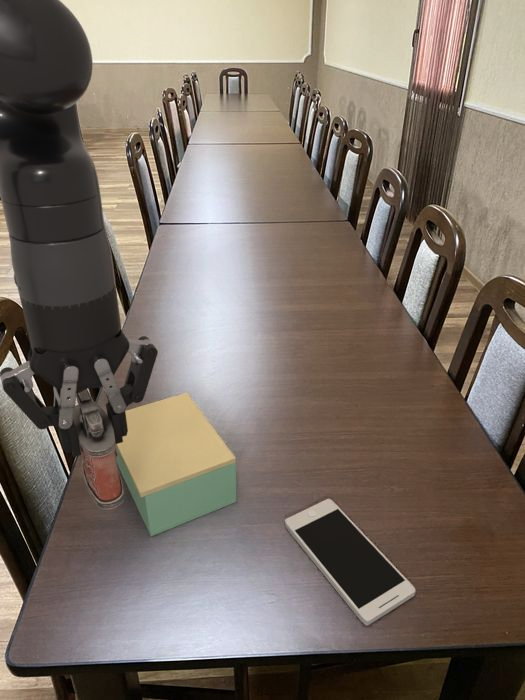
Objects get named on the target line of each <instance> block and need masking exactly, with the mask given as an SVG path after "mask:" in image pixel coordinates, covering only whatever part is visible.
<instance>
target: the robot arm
mask: <svg viewBox="0 0 525 700" xmlns="http://www.w3.org/2000/svg"><path fill="white" fill-rule="evenodd" d="M93 61H94V60H93V53H92V49H91V44H90V42H89V39H88V36H87V34H86V32H85V29H84V28H83V26H82V24H81V23H80V21H79V20H78V18H77V17H76V16H75V14H74V13H73V12H72V11H71V10H70V9H69V8H68V7H67V6H66V4H65V3H63V2H62V1H61V0H0V201H1V206H2V210H3V214H4V219H5V224H6V227H7V233H8V238H9V243H10V258H11V265H12V270H13V280H14V284H15V285H16V288H17V291H18V295H19V299H20V300H19V301H20V303H21V304H20V305H21V309H22V312H23V316H24V321H25V326H26V330H27V334H28V338H29V343H30V349H29V352H28V354H27V361H25V362H23V363H21V364H20V365H18V366H17V367H15V368H13V367H9V366H8V367H3V368H2V369H1V370H0V381H1V382H0V383H1V385H2V391H3V392H4V393H5V394H6V395H7V396H8V397H9V398H10V399H11V401H13V403H14V404H15V405H16V406H17V407H18V408H19V409H20V410H21V412H22V413H23V414H24V415H25V416H26V417H27V418H28V419H29V420H30V421H31V423H32V424H33V425H35V427H36V428H37V429H39V430H47V429H49V427H55V428H57V430H58V435H59V440H60V443H61V446H62V449H63V451H64V452H65V453H66V454H67V455H68V454H72V457H73V458H76V457H79V456H82V455H81V451H80V446H79V441H78V436H77V431H76V426H75V424H74V421H73V411H74V408H75V406H76V405H77V404H76V402H77V398H76V393H80V392H82V391H84V390H86V389H87V390H88V389H98V388H102V389H103V393H104V394H105V396H106V398H107V403H105V410H106V414H107V416H108V417H109V419H110V421H111V424H112V427H113V430H114V436H115V443H116V444H118V443H122V442H123V438H122V437H123V436H127V433H128V427H127V420H126V413H125V411H127V408H128V407H129V406H130V405H131V404H133V403H134V404H139V403H141V402H142V401H143V400H144V398H145V396H146V392H147V389H148V386H149V382H150V380H151V376H152V373H153V370H154V367H155V364H156V360H157V357H158V354H159V352H158V349H157V347H156V346H155V345H154V343H153V342H152V340H151V339H150V338H149V337H148V336H146V335H143V336H140V337H139V338H138V339H135V338H128V337H127V336H126V335H125V333H124V332H123V330H122V322H121V315H120V307H119V300H118V291H117V285H116V284H117V283H116V276H115V270H114V261H113V254H112V249H111V245H110V242H109V238H108V235H107V230H106V225H105V219H104V218H105V216H104V209H103V202H102V194H101V188H100V182H99V177H98V172H97V169H96V165H95V163H94V160H93V158H92V156H91V154H90V153H89V151H88V149H87V147H86V146H85V143H84V141H83V138H82V132H81V125H80V119H79V115H78V108H77V103H78V101H80V100H81V99H82V97H83V96H84V95H85V93H86V92H87V90H88V87H89V86H90V83H91V80H92V75H93V65H94V64H93V63H94V62H93ZM127 354H128V358H129V359H130V360H131V361H130V365H129V367H128V370H127V375H126V378H125V381H124V384H123V386H121V387H119V385H118V382H117V381H116V378H115V374H116V372H117V371H118V369H119V367H120V366H121V365H122V362H123V360H125V357H126V355H127ZM34 375H36V376H38V377H39V378H40V379H42V380H43V381H45V382H46V383H48V384H49V385H51V386H52V387H53V405H52V406H50V405H49V406H47V405H45V404H44V403H43V402H42V400H41V399H40V397H38V395H36V394H35V392H34V391H33V388H34V382H33V379H32V378H33V376H34Z"/></svg>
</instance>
